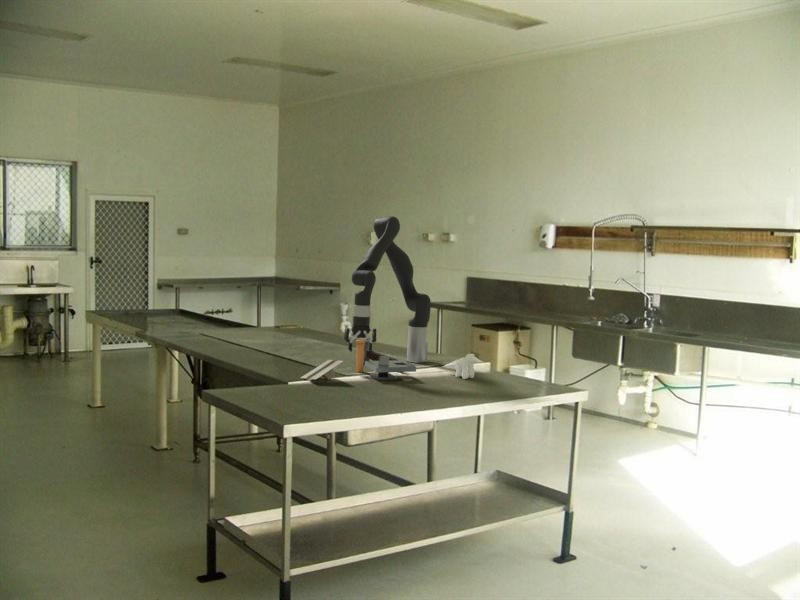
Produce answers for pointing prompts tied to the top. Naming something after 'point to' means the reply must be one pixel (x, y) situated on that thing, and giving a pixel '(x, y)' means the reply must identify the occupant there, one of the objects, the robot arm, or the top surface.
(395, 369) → the plate with round knob
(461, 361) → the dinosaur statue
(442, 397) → the top surface
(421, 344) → the robot arm
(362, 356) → the pin
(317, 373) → the gray slanted slat stand
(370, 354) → the hammer
